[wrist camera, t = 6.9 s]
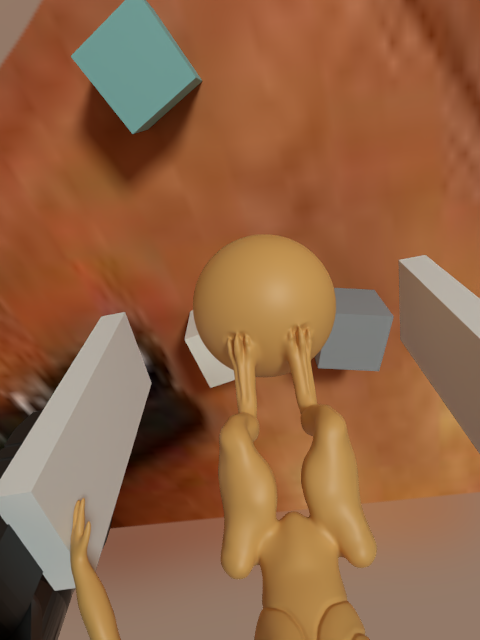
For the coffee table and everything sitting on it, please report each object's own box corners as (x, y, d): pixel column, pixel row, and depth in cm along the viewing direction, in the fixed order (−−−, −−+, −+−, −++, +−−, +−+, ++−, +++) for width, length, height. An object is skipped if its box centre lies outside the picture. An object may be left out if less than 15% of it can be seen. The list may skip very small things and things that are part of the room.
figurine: (390, 200, 12) (1393, 820, 2) (384, 366, 15) (742, 991, 4) (118, 237, 13) (-469, 932, 2) (161, 392, 15) (5, 1025, 5)
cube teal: (148, 129, 29) (132, 134, 25) (97, 63, 28) (70, 56, 23) (202, 81, 28) (196, 77, 24) (152, 8, 26) (135, -11, 22)
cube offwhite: (213, 355, 38) (210, 387, 34) (190, 310, 36) (184, 339, 32) (263, 337, 38) (267, 368, 33) (243, 291, 35) (244, 318, 31)
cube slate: (308, 336, 38) (317, 368, 33) (316, 286, 35) (327, 313, 31) (362, 339, 38) (379, 371, 33) (373, 289, 36) (393, 316, 31)
